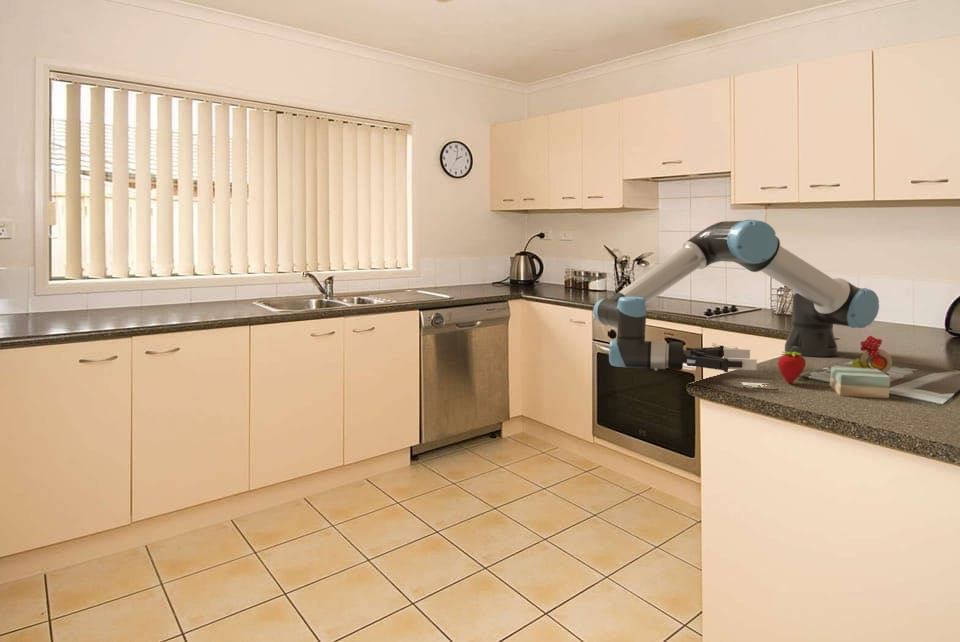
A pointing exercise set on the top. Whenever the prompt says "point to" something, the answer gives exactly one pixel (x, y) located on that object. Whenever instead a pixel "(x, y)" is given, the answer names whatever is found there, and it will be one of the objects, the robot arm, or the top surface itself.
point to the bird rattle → (877, 361)
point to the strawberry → (791, 365)
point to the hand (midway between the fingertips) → (753, 359)
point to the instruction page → (753, 384)
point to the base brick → (860, 382)
